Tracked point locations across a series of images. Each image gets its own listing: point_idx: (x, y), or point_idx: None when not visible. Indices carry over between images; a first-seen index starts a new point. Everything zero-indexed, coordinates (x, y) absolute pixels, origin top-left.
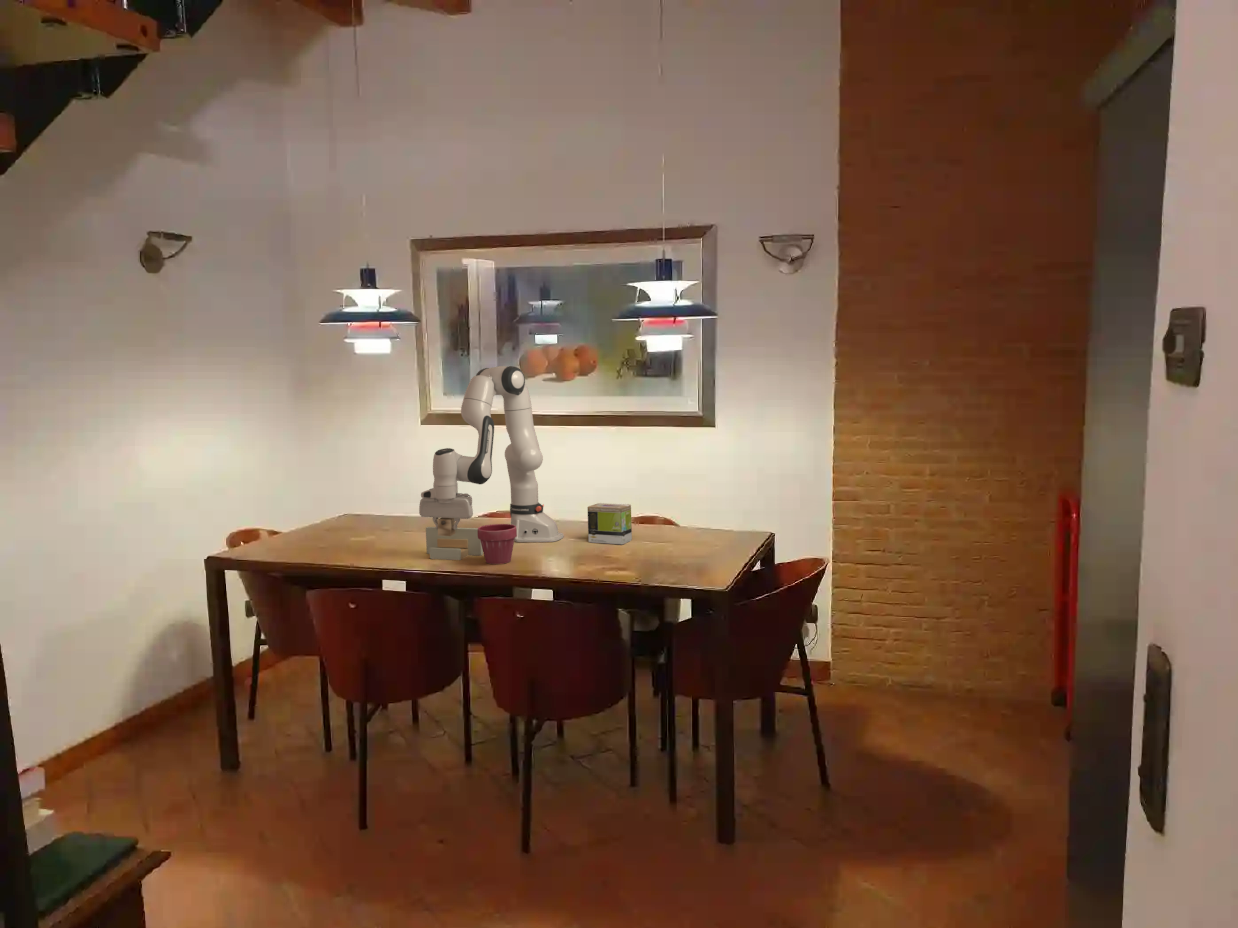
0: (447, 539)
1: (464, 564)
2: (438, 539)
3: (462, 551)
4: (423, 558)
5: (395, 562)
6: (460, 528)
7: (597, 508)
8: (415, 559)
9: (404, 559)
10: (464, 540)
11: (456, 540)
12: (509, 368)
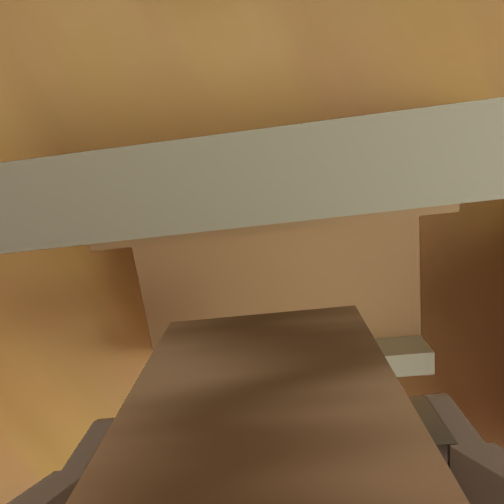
0: (212, 236)
1: (488, 430)
2: (107, 249)
3: (413, 290)
4: (121, 349)
5: (27, 474)
6: (395, 181)
7: None
8: (89, 385)
9: (22, 400)
10: (424, 214)
11: (321, 223)
12: None
